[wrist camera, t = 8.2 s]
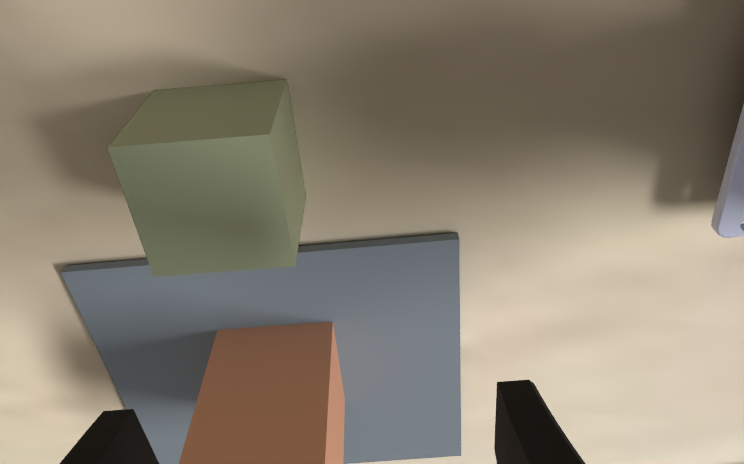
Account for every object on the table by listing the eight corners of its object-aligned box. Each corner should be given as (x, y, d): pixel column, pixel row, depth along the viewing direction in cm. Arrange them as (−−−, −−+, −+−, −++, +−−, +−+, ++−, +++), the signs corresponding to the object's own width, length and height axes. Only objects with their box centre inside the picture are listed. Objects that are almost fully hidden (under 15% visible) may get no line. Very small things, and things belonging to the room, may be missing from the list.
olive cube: (286, 78, 18) (270, 134, 14) (306, 194, 20) (295, 266, 17) (154, 89, 18) (107, 147, 14) (188, 203, 20) (153, 276, 17)
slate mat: (457, 232, 21) (458, 239, 20) (459, 448, 27) (460, 455, 27) (64, 265, 21) (60, 272, 21) (161, 468, 28) (158, 476, 28)
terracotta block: (332, 321, 22) (324, 476, 17) (344, 399, 25) (340, 557, 19) (217, 329, 22) (172, 485, 17) (240, 406, 25) (207, 565, 20)
